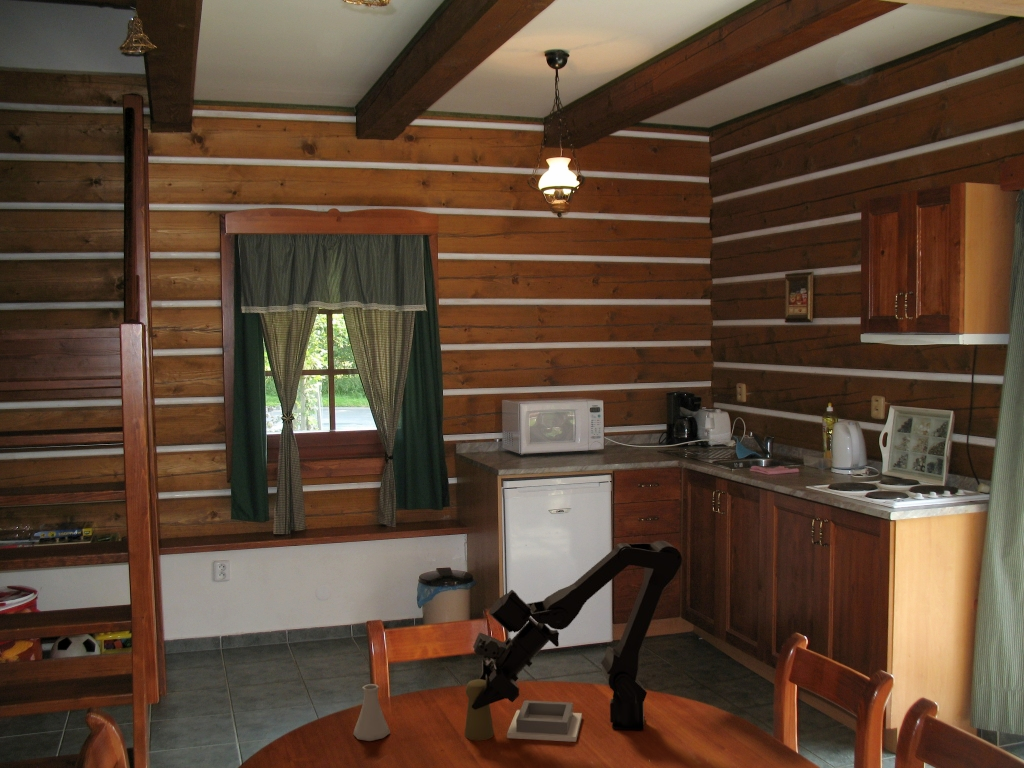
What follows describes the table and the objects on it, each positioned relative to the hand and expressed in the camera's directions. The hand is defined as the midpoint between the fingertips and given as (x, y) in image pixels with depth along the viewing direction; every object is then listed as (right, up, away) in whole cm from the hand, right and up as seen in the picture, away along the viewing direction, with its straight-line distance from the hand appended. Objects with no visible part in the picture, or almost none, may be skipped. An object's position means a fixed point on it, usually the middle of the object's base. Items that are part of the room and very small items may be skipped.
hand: (471, 703), depth 189 cm
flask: (-21, -7, +1) cm, 22 cm away
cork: (+1, -7, 0) cm, 7 cm away
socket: (+15, -6, +3) cm, 17 cm away
